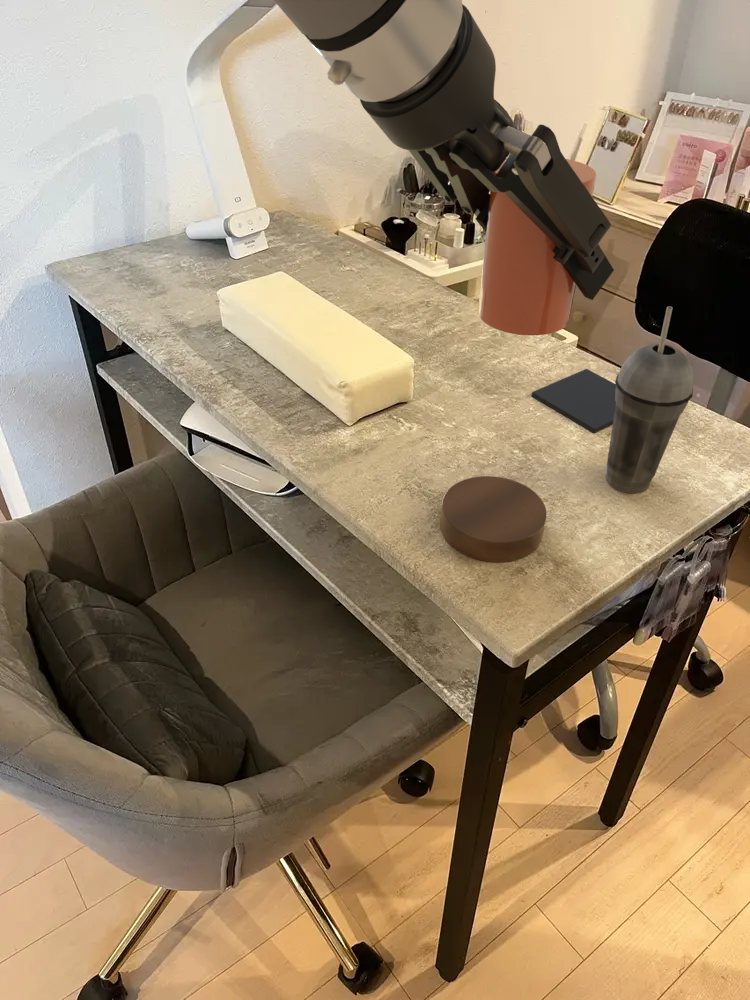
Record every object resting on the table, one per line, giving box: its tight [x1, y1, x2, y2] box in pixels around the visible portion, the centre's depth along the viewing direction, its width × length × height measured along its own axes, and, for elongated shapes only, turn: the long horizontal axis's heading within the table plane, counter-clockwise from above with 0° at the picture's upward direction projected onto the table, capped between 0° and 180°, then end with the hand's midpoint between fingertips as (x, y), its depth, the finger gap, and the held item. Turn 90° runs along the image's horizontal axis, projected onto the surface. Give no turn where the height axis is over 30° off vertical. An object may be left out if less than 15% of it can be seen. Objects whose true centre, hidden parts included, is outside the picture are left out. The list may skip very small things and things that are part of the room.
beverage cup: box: [605, 305, 695, 495], centre depth 75 cm, size 7×7×20 cm
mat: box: [531, 368, 616, 434], centre depth 93 cm, size 10×10×1 cm
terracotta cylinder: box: [477, 158, 597, 336], centre depth 57 cm, size 7×7×11 cm
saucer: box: [439, 475, 548, 563], centre depth 74 cm, size 10×10×2 cm
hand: (559, 266), depth 61 cm, fingers closed on terracotta cylinder, 7 cm apart
